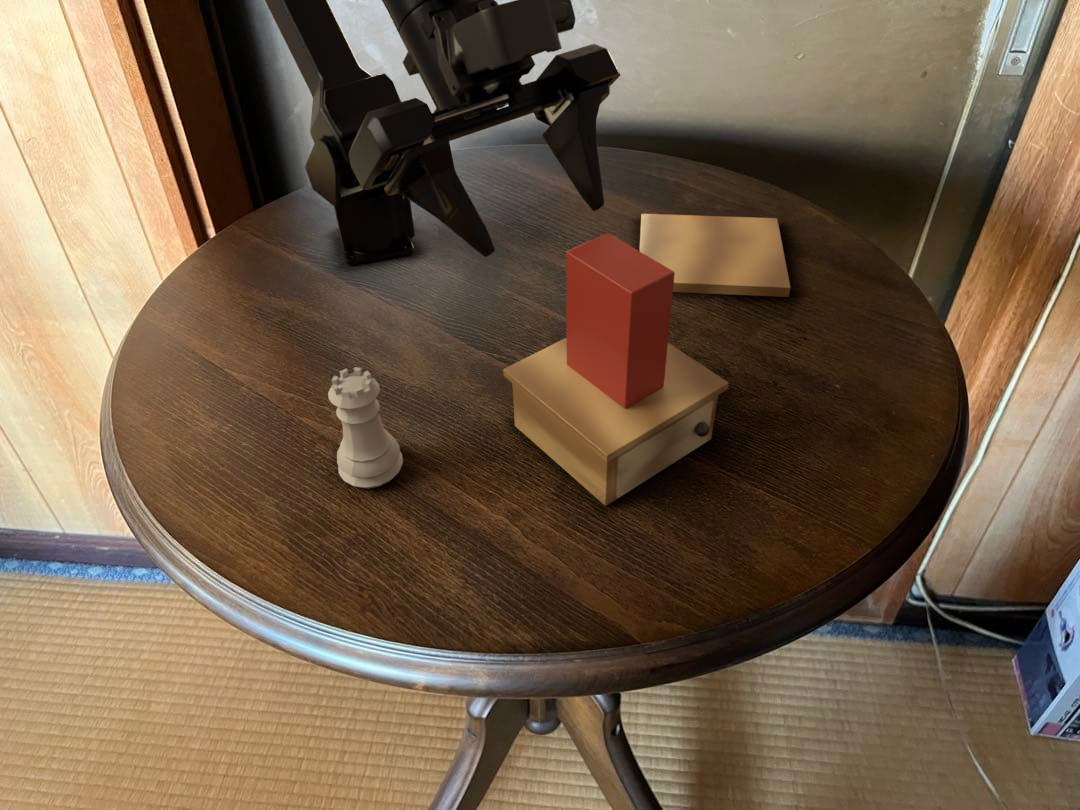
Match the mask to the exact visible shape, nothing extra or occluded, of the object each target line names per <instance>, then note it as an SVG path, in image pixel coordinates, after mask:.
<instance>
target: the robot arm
mask: <svg viewBox="0 0 1080 810" xmlns="http://www.w3.org/2000/svg"><path fill="white" fill-rule="evenodd" d="M264 2H265V3H266V6H267V8H268V10H269V12H270V14H271V16H272V18H273V19H274V22H275V24H276V26H277V28H278V30H279V32H280V34H281V36H282V38H283V40H284V42H285V44H286V46H287V48H288V50H289V52H290V54H291V56H292V58H293V60H294V62H295V64H296V67H297V68H298V70H299V72H300V74H301V76H302V78H303V80H304V82H305V83H306V86H307V89H308V90H309V92H310V95H311V97H312V106H311V116H310V126H309V127H310V128H309V132H310V136H311V138H312V141H313V143H314V144H313V146H312V148H311V151H310V153H309V156H308V158H307V161H306V163H305V166H304V169H305V171H306V174H307V177H308V181H309V182H310V185H311V188H312V190H313V191H314V192H315V193H317V195H319V196H320V197H321V198H323V199H324V200H325V201H327V202H328V203H329V204H330V205H332V206H333V209H334V214H335V218H336V224H337V229H336V231H337V237H338V240H339V243H340V247H341V248H340V249H341V251H342V255H343V259H344V263H345V264H346V265H348V266H350V265H355V264H361V263H367V262H372V261H378V260H385V259H388V258H389V259H391V258H394V257H399V256H405V255H410V254H412V253H414V252H415V246H414V243H413V241H412V239H414V238H415V237H416V233H415V225H414V218H413V211H412V203H413V204H415V205H417V206H418V207H420V208H421V209H423V210H424V211H425V212H427V213H428V214H430V215H432V216H433V217H434V218H436V219H437V220H439V222H441V223H442V224H444V225H445V226H446V227H447V228H449V230H451V231H452V232H453V233H455V234H456V235H457V236H458V237H459V238H461V240H463V241H465V242H466V243H467V244H468V245H469V246H471V248H473V249H474V250H475V251H477V252H478V253H479V254H480V255H481V256H483V257H485V258H487V257H489V256H491V255H492V254H493V253H494V252H495V251H496V250H495V246H494V243H493V241H492V238H491V235H490V233H489V230H488V229H487V226H486V224H485V223H484V221H483V219H482V217H481V216H480V214H479V212H478V210H477V208H476V206H475V204H474V203H473V201H472V199H471V197H470V196H469V193H468V191H467V190H466V188H465V186H464V184H463V183H462V181H461V179H460V177H459V175H458V173H457V171H456V168H455V164H454V160H453V159H454V158H453V154H452V148H451V144H450V143H451V141H454V140H457V139H461V138H463V137H467V136H469V135H472V134H475V133H477V132H480V131H483V130H486V129H490V128H492V127H496V126H498V125H501V124H505V123H507V122H511V121H514V120H516V119H520V118H522V117H526V116H529V115H532V114H534V116H535V119H536V120H537V121H539V122H541V123H543V124H545V125H547V126H548V127H546V129H545V130H544V132H542V134H541V136H542V138H543V140H544V141H545V143H546V144H547V146H548V147H549V149H550V150H551V152H552V154H553V155H554V156H555V158H556V159H557V161H558V163H559V164H560V166H561V167H562V169H563V171H564V172H565V173H566V176H567V177H568V178H569V180H570V182H571V183H572V185H573V187H574V188H575V189H576V191H577V192H578V194H579V195H580V197H581V198H582V199H583V201H584V202H585V203H586V204H587V205H588V207H589V208H590V209H591V210H592V211H594V212H597V211H598V210H599V209H601V208H602V207H603V206H604V205H605V198H604V197H605V196H604V190H603V184H602V183H603V182H602V175H601V167H600V159H599V151H598V141H597V140H598V139H597V119H598V114H599V110H600V106H601V104H602V103H603V102H604V101H605V100H606V99H607V98H608V97H609V96H610V93H611V86H612V85H613V84H614V83H615V82H616V81H617V80H618V79H619V78H620V77H621V73H620V71H619V69H618V67H617V64H616V63H615V61H614V58H613V56H612V55H611V53H610V51H609V50H608V49H607V48H606V47H604V46H601V45H599V44H596V43H592V44H589V45H585V46H582V47H581V46H580V47H578V48H575V49H572V50H571V49H570V50H569V51H565V52H562V53H558V54H556V55H554V57H553V58H552V59H551V61H550V62H549V64H547V66H546V67H544V70H543V71H542V72H541V73H540V74H539V75H538V77H537V78H536V80H533V81H529V82H527V83H524V84H522V82H521V78H522V77H523V76H525V75H528V74H530V72H531V71H532V70H533V68H534V67H535V66H536V63H535V60H534V59H533V57H534V56H535V55H539V54H542V53H544V52H546V53H553V52H557V51H560V50H562V48H563V47H562V43H561V39H560V36H559V35H561V34H564V33H566V32H569V31H572V30H573V29H574V28H575V24H576V15H575V11H574V6H573V3H572V0H511V1H508V2H505V3H501V4H499V3H498V2H497V1H496V0H381V2H382V4H383V5H384V8H385V9H386V12H387V13H388V15H389V17H390V19H391V21H392V23H393V26H394V27H395V29H396V31H397V33H398V36H399V37H400V39H401V42H402V44H403V45H404V47H405V50H406V51H407V52H406V55H405V57H404V58H403V60H402V64H403V66H404V68H405V71H406V72H407V75H408V76H409V77H411V76H414V75H419V77H420V79H421V81H422V83H423V84H424V86H425V89H426V91H427V92H428V94H429V96H430V98H431V100H432V103H433V104H434V107H435V109H434V110H433V112H432V111H431V108H430V107H429V105H428V103H426V102H425V101H423V100H421V99H419V98H417V97H414V98H410V99H407V100H403V101H402V99H401V98H400V95H399V94H398V91H397V88H396V85H395V83H394V81H393V80H392V79H391V78H390V77H389V76H388V75H387V74H386V73H379V74H376V75H372V74H371V73H369V72H367V71H366V70H365V69H364V68H362V66H361V65H360V63H359V62H358V60H357V57H356V56H355V54H354V52H353V50H352V47H351V45H350V43H349V41H348V39H347V37H346V35H345V32H344V31H343V29H342V27H341V25H340V23H339V20H338V19H337V17H336V14H335V12H334V11H333V8H332V7H331V5H330V2H329V1H328V0H264ZM411 202H412V203H411Z"/></svg>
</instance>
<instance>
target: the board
mask: <svg viewBox="0 0 1080 810" xmlns="http://www.w3.org/2000/svg"><path fill="white" fill-rule="evenodd" d="M639 231H640V233H639V250H638V251H640V252H642V253H643V254H645V255H647V256H648V257H650V258H652V259H654V260H655V261H657V262H659V263H660V264H662V265H664V266H665V267H667V268H669V269H671V270H672V271H674V272H675V275H674V285H673V293H683V294H684V293H685V294H707V295H710V294H711V295H731V296H733V295H734V296H753V297H777V298H789V297H790V293H791V282H790V278H789V277H790V276H789V272H788V267H787V261H786V257H785V252H784V247H783V246H784V245H783V241H782V236H781V231H780V225H779V221H778V218H777V217H752V216H749V217H748V216H723V215H721V216H719V215H695V214H691V215H690V214H666V213H665V214H664V213H662V214H661V213H641V215H640V230H639Z"/></svg>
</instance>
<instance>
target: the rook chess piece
mask: <svg viewBox="0 0 1080 810" xmlns="http://www.w3.org/2000/svg"><path fill="white" fill-rule="evenodd" d="M339 375H340V377H339V376H337V375H333V377H332V378H331V380H330V381H331V387H330V388H329V390H328V395H327V396H328V397H327V399H328V400H329V401H330V403H331V404H332V405H333V406H335V407H336V409H335V412H336V413H335V414H336V417H337V418H338V420H340V421H341V425H342V439H341V441H340V443H339V447H338V449H337V450H336V465H337V469H338V475H339V476H340V477H341V479H342V480H343V481H344V482H345V483H347V484H349V485H351V486H353V487H355V488H358V489H366V490H370V489H373V488H379V487H381V486H382V487H383V486H384V485H386V484H388V483H389V482H391V481H392V480H393V479H395V477H396V476H397V475H398V474H399V473H400V471H401V469H402V466H403V464H404V459H403V453H402V452H401V449H400V444H399V442H398V441H397V440H396V439H395V437H394V436H393V435H392V434H391V433H390V432H389V431H388V430H387V429H385V428H384V424H383V422H382V420H381V418H380V415H379V411H380V409H381V406H380V405H381V404H380V401H378V399H377V397H378V395H379V394H380V392H381V390H380V389H381V388H380V383H378V382H377V380H376V379H375V378H373V377H372V373H370V372H369V371H368V370H366V371H364V372H363V368H362V367H356V366H355V367H353V372H352V373H349V370H348V368H347V367H346V368H344V369H342V370H340V371H339Z"/></svg>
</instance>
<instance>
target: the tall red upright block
mask: <svg viewBox="0 0 1080 810" xmlns="http://www.w3.org/2000/svg"><path fill="white" fill-rule="evenodd" d="M565 258H566V259H565V272H566V273H565V277H566V278H565V281H566V282H565V284H566V285H565V286H566V287H565V288H566V289H565V290H566V291H565V293H566V300H565V301H566V306H565V307H566V310H565V311H566V338H567V365H568V366H569V367H571V368H572V369H573V370H575V371H576V372H577V373H579V374H580V375H581V376H583V377H584V378H585V379H586V380H588V381H589V382H590V383H592V384H593V385H594V386H596V387H597V388H598V389H600V390H601V391H602V392H604V393H605V394H606V395H607V396H609V397H610V398H611V399H613V400H614V401H615V402H617V403H618V404H619V405H621V406H622V407H623V408H625V409H626V408H628V407H630V406H631V405H633V404H635V403H637V402H638V401H640V400H642V399H643V398H645V397H647V396H649V395H650V394H652V393H654V392H656V391H657V390H659V389H661V388H663V387H664V378H665V368H666V358H667V347H668V343H669V336H670V327H671V326H670V325H671V317H672V316H671V315H672V306H673V305H672V304H673V297H674V296H673V295H674V294H673V293H674V292H673V285H674V275H675V272H674V271H672V270H671V269H669V268H667V267H665V266H664V265H662V264H660V263H659V262H657V261H655V260H654V259H652V258H650V257H648V256H647V255H645V254H643V253H642V252H640V251H639V250H638V249H636V248H635V247H633V246H631V245H630V244H628V243H626V242H624V241H623V240H621V239H620V238H618V237H616V236H614V235H613V234H611V233H609V232H607V233H605V234H602V235H600V236H598V237H596V238H594V239H591V240H589V241H586V242H584V243H581V244H580V245H578V246H576V247H575V246H574V247H573V248H571V249H568V250H567V251H566V252H565Z"/></svg>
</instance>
